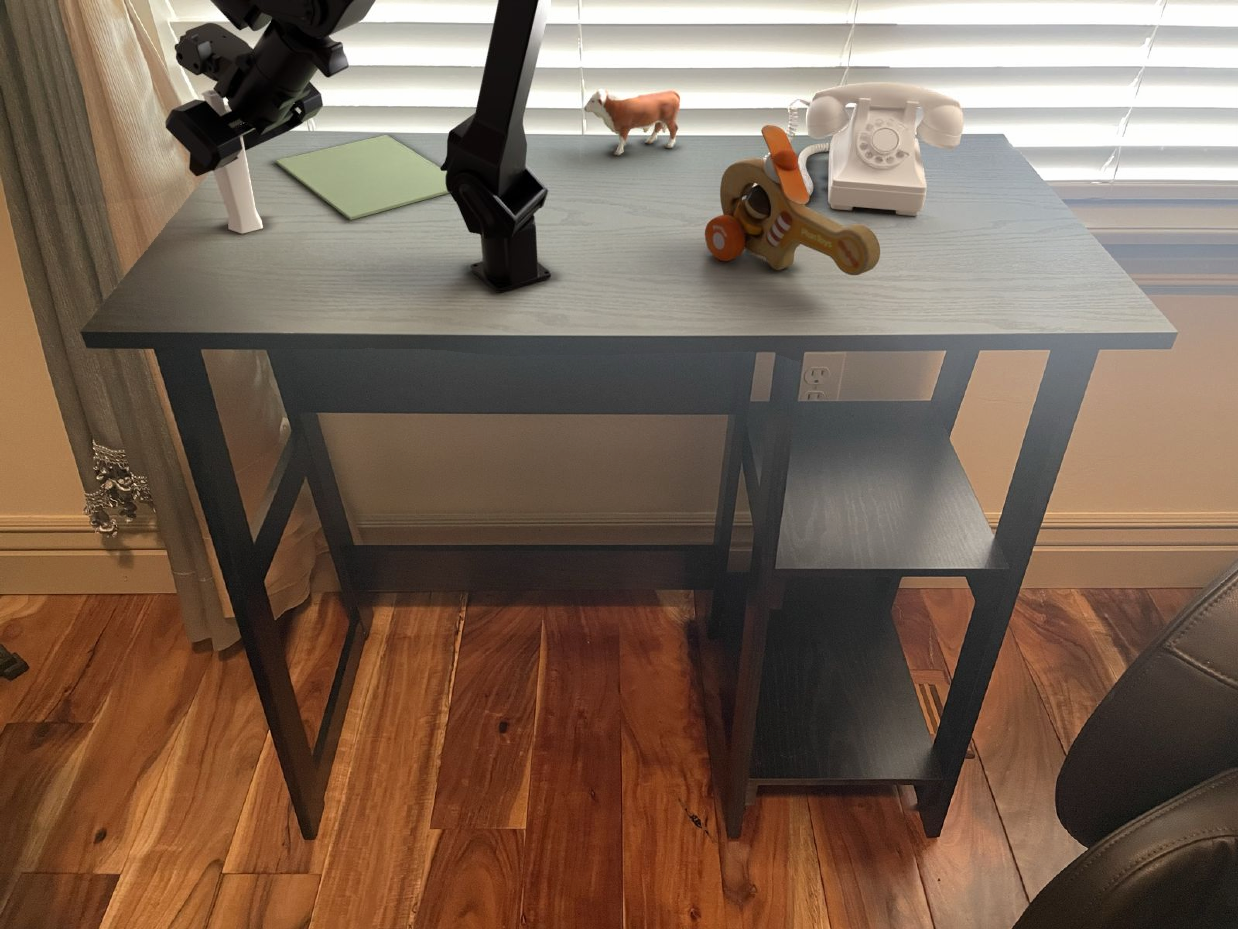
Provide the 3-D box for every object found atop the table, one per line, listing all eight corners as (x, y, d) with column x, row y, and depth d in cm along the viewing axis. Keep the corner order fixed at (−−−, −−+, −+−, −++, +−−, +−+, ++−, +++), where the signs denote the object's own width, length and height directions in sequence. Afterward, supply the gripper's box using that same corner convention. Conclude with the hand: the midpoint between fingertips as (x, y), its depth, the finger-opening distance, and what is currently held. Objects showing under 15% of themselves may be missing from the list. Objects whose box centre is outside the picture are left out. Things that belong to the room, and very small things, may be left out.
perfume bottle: (224, 220, 108) (188, 88, 99) (263, 215, 110) (231, 84, 100) (225, 237, 105) (188, 101, 96) (266, 231, 106) (233, 97, 97)
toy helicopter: (746, 229, 108) (759, 109, 99) (890, 298, 96) (919, 168, 87) (695, 249, 104) (703, 125, 95) (838, 324, 92) (863, 190, 83)
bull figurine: (582, 147, 128) (581, 86, 123) (674, 138, 131) (676, 77, 126) (591, 158, 125) (590, 96, 119) (684, 149, 128) (688, 87, 123)
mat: (468, 187, 117) (468, 184, 116) (350, 220, 109) (350, 217, 109) (386, 137, 130) (386, 134, 130) (276, 163, 122) (275, 160, 122)
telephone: (744, 204, 114) (755, 99, 106) (756, 143, 130) (766, 48, 122) (955, 222, 110) (982, 115, 102) (940, 157, 126) (963, 61, 118)
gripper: (276, -21, 98) (217, 76, 108) (151, 22, 84) (95, 128, 94) (354, 66, 101) (289, 152, 111) (244, 121, 87) (182, 214, 97)
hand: (217, 159), depth 103 cm, fingers open, 8 cm apart
